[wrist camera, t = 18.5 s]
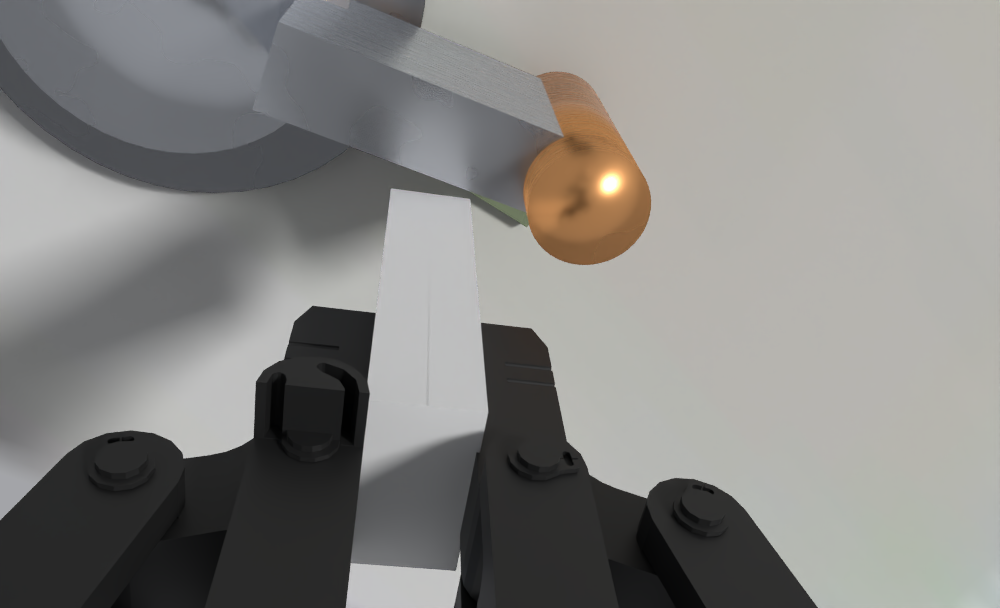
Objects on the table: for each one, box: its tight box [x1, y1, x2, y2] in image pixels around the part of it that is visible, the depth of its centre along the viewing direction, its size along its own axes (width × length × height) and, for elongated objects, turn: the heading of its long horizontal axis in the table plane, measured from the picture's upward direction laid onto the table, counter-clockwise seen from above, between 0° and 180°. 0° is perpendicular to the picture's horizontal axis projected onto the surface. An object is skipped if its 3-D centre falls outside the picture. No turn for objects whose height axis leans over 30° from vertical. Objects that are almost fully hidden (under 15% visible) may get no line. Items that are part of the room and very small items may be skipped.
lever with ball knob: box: [0, 0, 651, 265], centre depth 16 cm, size 13×7×5 cm, turn 67°
